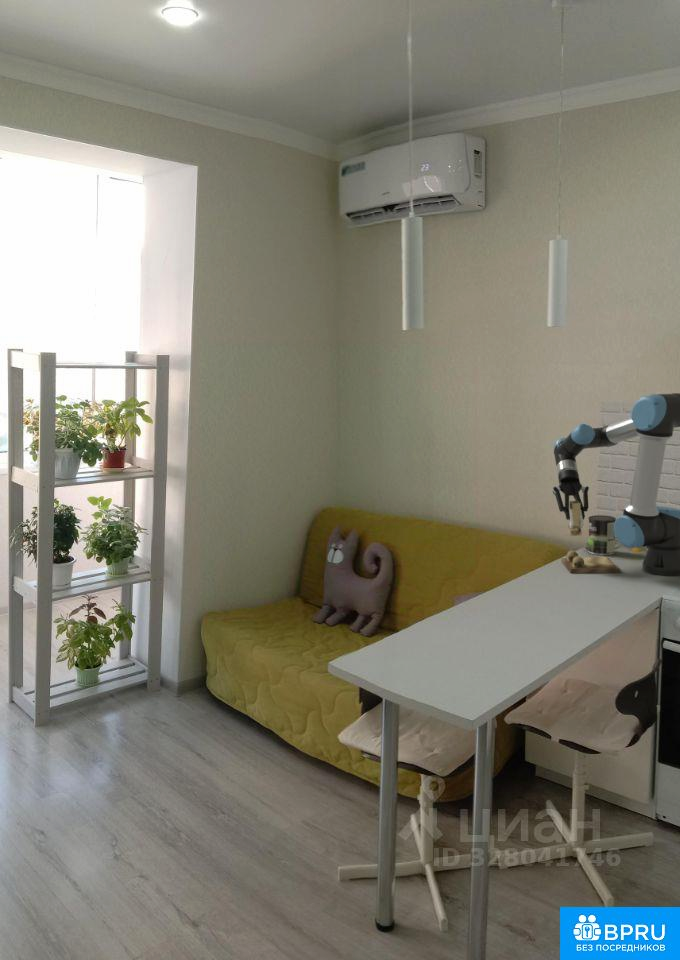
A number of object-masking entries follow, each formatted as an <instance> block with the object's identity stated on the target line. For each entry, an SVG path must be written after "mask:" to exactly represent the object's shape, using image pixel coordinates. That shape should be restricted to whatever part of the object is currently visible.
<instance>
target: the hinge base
mask: <svg viewBox="0 0 680 960" xmlns="http://www.w3.org/2000/svg"><path fill="white" fill-rule="evenodd" d="M566 553H567V554H566V558H561V563H562V566H564V567H565V568H566V569H567V571H568V572H569V573H570V574H603V573H604V574H605V573H608V574H610V573H613V574H614V573H616V574H619V573H621V568H620V567H619V566H618V565H617V563H615V562H614V561H612V560H611V559H610V558H609V557H606V556H588V557H587V556H584V557H583V556H582V557H581V556H579V553H577V551H576V550H574V549H573V550H572V549H570V550H569V551H568V552H566Z"/></svg>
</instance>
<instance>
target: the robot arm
mask: <svg viewBox="0 0 680 960" xmlns="http://www.w3.org/2000/svg"><path fill="white" fill-rule="evenodd" d="M631 408H632V409H631V414H630V417H627V418H625V419H622V420H619V421H616V422H613V423H611V424H609V425H605V426H602V427H592V426H590V424H586V423H580V424H578V425H577V426H576V427H575V428H574V429H573V430H572V431H571V432H570V433H569V435H568V436H567V437H562V438H559V439H556V440H555V441H554V444H553V454H554V460H555V466H556V472H557V476H558V477H557V479H558V486H554V487H553V489H552V494H553V495H554V496H555V499H556V502H557V507H558V511H559V512H560V513H562V512H563V513H564V514H565V515H564V516H565V519H566V520H568V523H570V528H573V525H574V522H573V517H572V511H571V509H570V497H571V496H572V497H573V499H574V501H578V502H579V503H580V528H581V529H583V527H584V524H585V522H584V520H585V517H586V515H585V512H588V509H589V494H588V493H589V489H590V488H589V485H588V486H583V485H582V484H581V482H580V476H579V470H578V464H577V458H576V457H577V456H578V455H579V454H580V453H582V451H584V450H585V449H596V448H605V447H606V448H609V447H614V446H617V445H618V444H619V443H622V442H623V441H627V440H631V439H633V438H637V437H639V440H638V441H639V442H638V445H637V446H638V447H637V454H636V459H635V466H634V472H633V479H632V484H631V485H632V486H631V492H630V497H629V498H630V499H629V502H628V503H627V504H625V505H624V506H623V512H622V515H620V516H618V518H616V521H615V523H614V532H615V538H617V541H618V542H619V543H620V544H621V545H622V546H624V547H625V548H628V549H640V548H643V547H644V548H645V547H647V551H646V553H645V556H644V557H643V558H644V559H643V562H642V567H641V569H642V570H643V571H644V572H647V573H649V574H651V575H652V574H653V575H658V576H659V575H660V576H680V508H674V507H667V506H657V500H658V494H659V493H658V492H659V489H660V488H659V487H660V480H661V476H662V470H663V464H664V459H665V452H666V446H667V441H668V440H669V439H671V438H672V437H673V433H674V429H675V428H680V392H677V393H676V392H673V393H672V392H671V393H653V394H649V395H644V396H640V398H639V399H638V400H636V402H635V403H634V405H633V406H632V407H631ZM580 491H581V492H582V498H583V501H582V499H581V497H580ZM561 493H562V494H563V495H564V503H563V499H562V495H561Z"/></svg>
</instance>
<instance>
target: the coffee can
mask: <svg viewBox="0 0 680 960" xmlns="http://www.w3.org/2000/svg"><path fill="white" fill-rule="evenodd" d="M587 519H588V536H587V537H588V538H587V539H588V542H587V543H588V545H587V546H588V547H587V553H588V552H589V553H588V554H590V553H591V555H595V556H612V555H611V554H613V555H614V554H615V547H616V546H615V544H616V535H615V532H614V523H615V521H616V519H617V518H616V517H614V516H612V515H600V514H599V515H590V516H588V518H587Z"/></svg>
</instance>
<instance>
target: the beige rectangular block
mask: <svg viewBox="0 0 680 960" xmlns="http://www.w3.org/2000/svg"><path fill="white" fill-rule="evenodd" d="M569 509H571V511H572V517H573V522H574V525H573V528H570V523H569V522H568V523H569V525H568V526H567V534H568V535H569V536H574V537H575V536H578V537H579V536H582V532H583V530H582V528H580V503H579V502H578V501H575V500H569Z"/></svg>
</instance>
